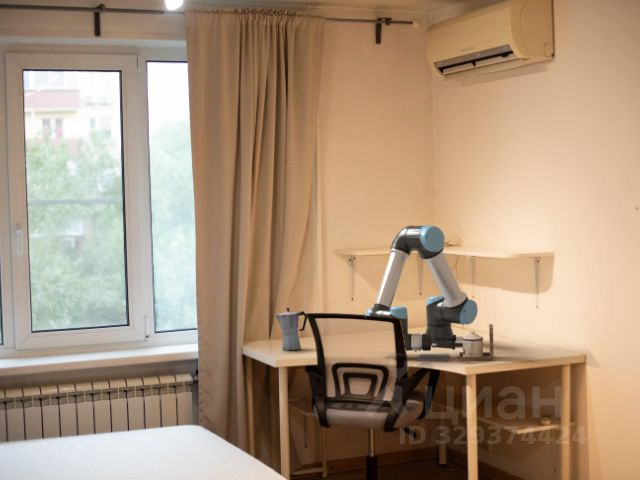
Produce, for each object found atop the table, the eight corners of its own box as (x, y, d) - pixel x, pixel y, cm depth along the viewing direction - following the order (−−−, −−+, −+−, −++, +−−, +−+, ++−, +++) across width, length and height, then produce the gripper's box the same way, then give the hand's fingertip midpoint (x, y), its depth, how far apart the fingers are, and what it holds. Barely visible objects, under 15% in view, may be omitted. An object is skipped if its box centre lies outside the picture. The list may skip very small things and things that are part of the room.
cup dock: (459, 355, 380) (458, 324, 379) (493, 355, 377) (492, 324, 376) (458, 360, 367) (457, 328, 366) (493, 361, 364) (493, 328, 364)
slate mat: (419, 355, 383) (419, 354, 383) (448, 355, 381) (448, 354, 381) (417, 360, 370) (417, 359, 370) (447, 361, 367) (447, 359, 367)
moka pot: (275, 348, 414) (274, 307, 413) (307, 347, 415) (306, 305, 414) (276, 351, 404) (275, 309, 403) (309, 350, 405) (307, 308, 405)
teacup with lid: (464, 355, 379) (464, 329, 378) (485, 356, 376) (484, 330, 375) (459, 360, 368) (458, 333, 367) (480, 361, 364) (479, 334, 364)
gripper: (424, 345, 388) (471, 345, 384) (419, 355, 363) (470, 355, 359) (423, 329, 388) (471, 329, 384) (419, 338, 363) (470, 338, 359)
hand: (471, 342), depth 371 cm, fingers open, 13 cm apart
